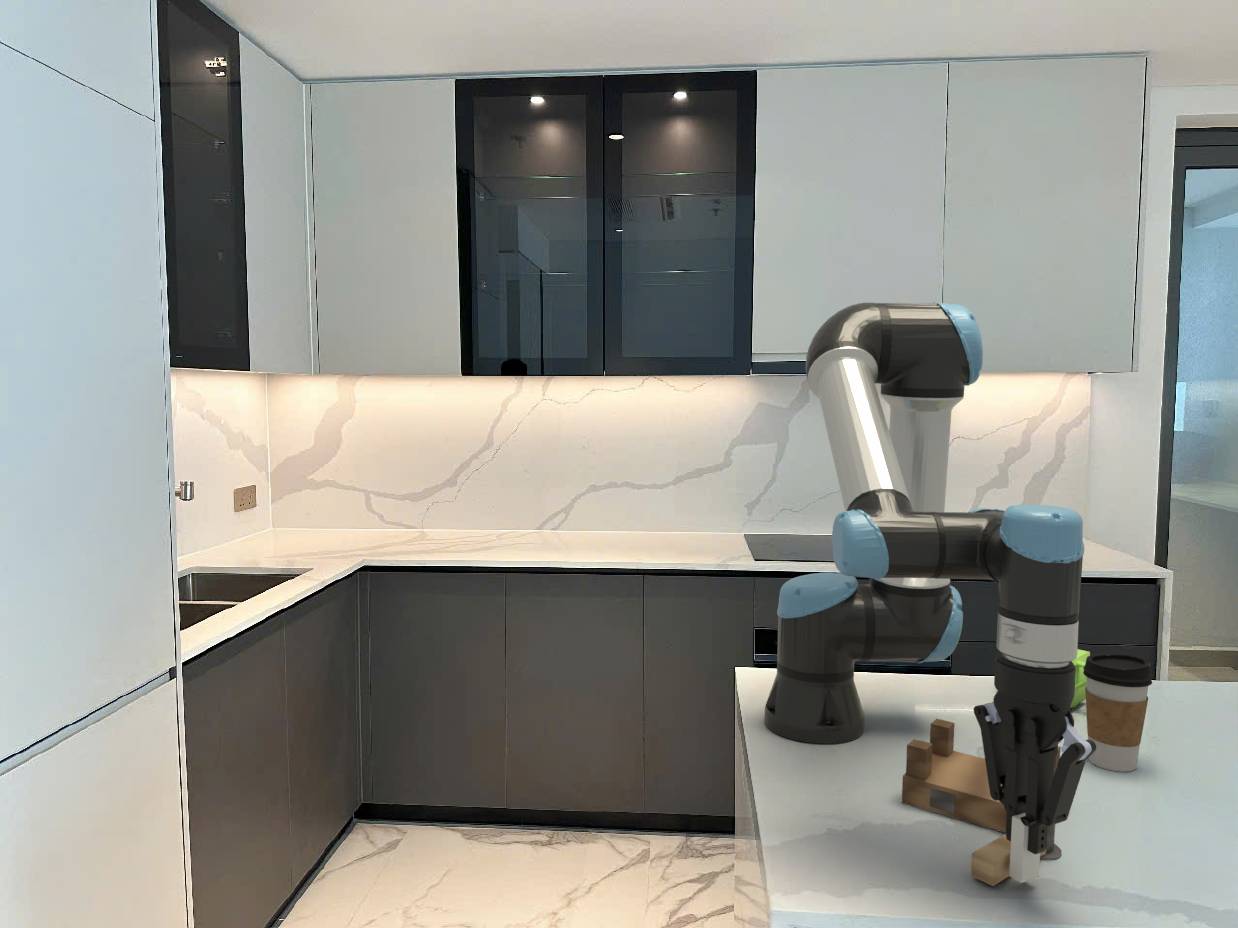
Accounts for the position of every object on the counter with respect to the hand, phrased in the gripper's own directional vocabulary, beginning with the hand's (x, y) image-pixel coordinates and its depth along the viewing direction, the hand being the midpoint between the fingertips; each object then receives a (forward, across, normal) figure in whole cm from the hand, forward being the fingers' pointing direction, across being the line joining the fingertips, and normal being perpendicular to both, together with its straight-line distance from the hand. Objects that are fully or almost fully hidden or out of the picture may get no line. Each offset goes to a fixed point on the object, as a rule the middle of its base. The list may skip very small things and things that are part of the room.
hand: (1023, 875), depth 93 cm
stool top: (+1, -13, +10) cm, 17 cm away
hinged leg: (+1, -3, +3) cm, 5 cm away
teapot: (+2, -35, +51) cm, 62 cm away
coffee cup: (+2, -15, +38) cm, 41 cm away
